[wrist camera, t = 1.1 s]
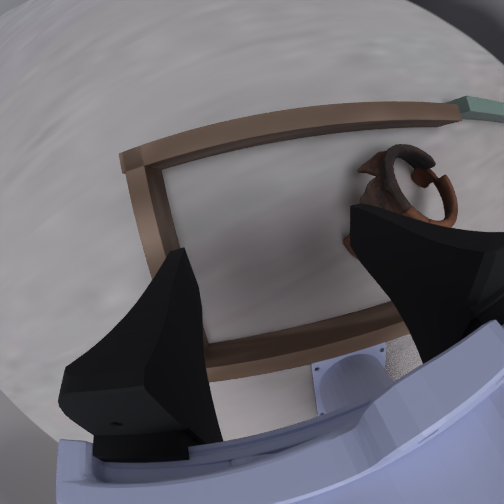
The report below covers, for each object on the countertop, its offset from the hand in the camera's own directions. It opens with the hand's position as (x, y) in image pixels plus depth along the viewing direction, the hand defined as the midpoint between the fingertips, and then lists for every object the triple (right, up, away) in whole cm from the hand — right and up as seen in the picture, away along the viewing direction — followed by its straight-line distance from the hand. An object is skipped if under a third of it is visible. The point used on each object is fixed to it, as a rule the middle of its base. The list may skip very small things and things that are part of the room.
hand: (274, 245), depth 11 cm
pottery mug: (+12, +3, +11) cm, 16 cm away
